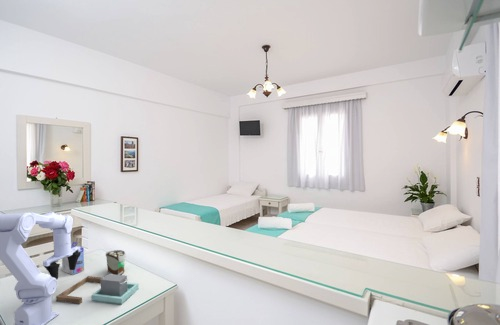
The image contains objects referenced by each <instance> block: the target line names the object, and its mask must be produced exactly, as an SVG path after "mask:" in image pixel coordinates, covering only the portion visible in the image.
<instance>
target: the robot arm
mask: <svg viewBox="0 0 500 325" xmlns="http://www.w3.org/2000/svg"><path fill="white" fill-rule="evenodd" d="M73 224H74V219H73V217H72V216H71V215H70V214H65V215H63V214H62V213H55V211H48V212H46V213H43V214H40V213H36V212H31V211H30V212H27V211H26V212H16V213H15V212H13V213H0V261H1V263H2V264H3V266H5V267H6V269H7V270H8V271H9V272H10V274H12V276H13V277H14V278H15V280H16V281H17V283H15V285H14V289H13V290H14V291H15V293H16V294H15V295H16V298H17V299H18V300H21V303H22V305H21V306H19V307H18V308H17V309H16V310H15V311H14V313H13V314H14V317H13V318H14V325H46V324H47V323H49V322H50V321H52V320H54V318H56V317H57V316H59V314H60V313H59V312H54V311H53V305H52V304H53V302H52V301H53V300H52V295H53V294H54V293H55V292H56V290H57V287H58V280H59V269H60V265H61V264H60V263H57V262H58V261H60V260H62V258H64V257H67V258H68V261H69V269H70V270H75V267H76V263H77V260H78V258H79V256H80V255H81V252H78V251H80V247H81V246H80V245H77V246H76V247H73V248H71V245H72V237H71V234H72V233H71V232H72V230H73ZM36 225H37V226H39V227H40V228H41V229H49V230H51V231H52V238H53V240H52V241H53V254H52V255H51V256H50V257H48V258H47V259H45V260H43V261H42V263H43V265H42V266H43V267H44V268H45V269H46V271H47V272H48V273H49V274H48V273H46V272H45V273H44V272H41V271H40V269H39V268H38V267H37V265H36V263H35V262H34V261H33V259H32V258H31V256H30V255H29V254H28V253H27V251H26V249H24V247H23V245H22V244H24V243H26V242H27V240H28V238H29V237H30V234H31V232H32V230H33V227H34V226H36Z"/></svg>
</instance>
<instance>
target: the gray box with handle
mask: <svg viewBox="0 0 500 325" xmlns="http://www.w3.org/2000/svg"><path fill="white" fill-rule="evenodd" d="M128 280H129V279H128V275H126V274H125V275H123V274H122V275H115V274H111V273H108V274H106V275H105V276H103V277H102V279H101V280H100V281H101V283H100V288H101V295H109V296H117V297H121V296H122V295H124V294H125V293H126V292H127V283H128Z"/></svg>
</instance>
